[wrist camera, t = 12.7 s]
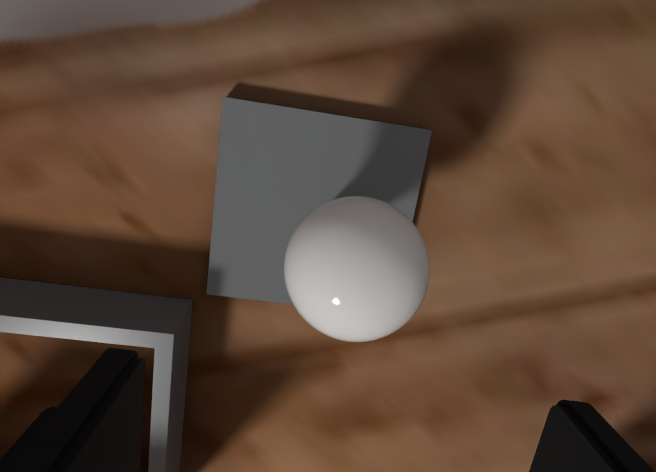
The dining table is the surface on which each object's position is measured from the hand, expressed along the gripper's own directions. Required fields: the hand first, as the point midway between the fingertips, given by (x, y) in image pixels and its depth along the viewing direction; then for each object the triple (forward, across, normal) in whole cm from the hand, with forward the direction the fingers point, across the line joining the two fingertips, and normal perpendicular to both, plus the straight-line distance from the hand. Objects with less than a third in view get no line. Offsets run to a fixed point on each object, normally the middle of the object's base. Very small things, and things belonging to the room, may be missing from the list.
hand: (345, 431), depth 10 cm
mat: (+19, +1, -1) cm, 19 cm away
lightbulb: (+18, -1, -1) cm, 18 cm away
